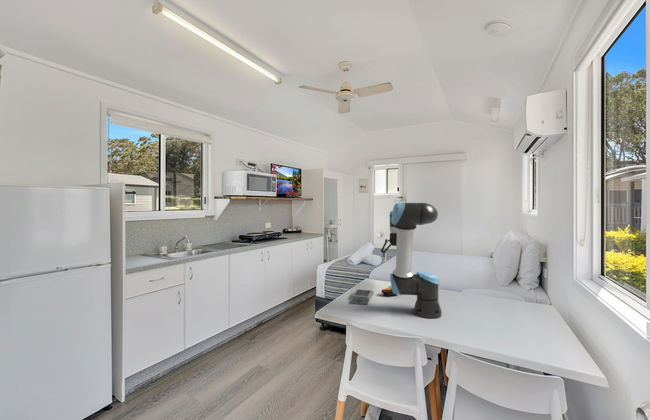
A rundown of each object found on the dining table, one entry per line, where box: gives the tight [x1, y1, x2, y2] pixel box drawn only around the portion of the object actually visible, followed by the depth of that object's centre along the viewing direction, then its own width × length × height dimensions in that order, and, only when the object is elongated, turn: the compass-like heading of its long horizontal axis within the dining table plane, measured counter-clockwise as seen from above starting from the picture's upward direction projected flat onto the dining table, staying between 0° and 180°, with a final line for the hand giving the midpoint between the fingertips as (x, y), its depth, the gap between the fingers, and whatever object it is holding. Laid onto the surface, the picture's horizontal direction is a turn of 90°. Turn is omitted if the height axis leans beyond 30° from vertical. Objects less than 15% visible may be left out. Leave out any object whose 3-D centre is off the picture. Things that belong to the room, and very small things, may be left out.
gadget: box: [380, 285, 398, 297], centre depth 195 cm, size 6×13×6 cm, turn 107°
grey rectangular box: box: [349, 288, 374, 306], centre depth 190 cm, size 28×11×3 cm, turn 162°
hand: (395, 262), depth 202 cm, fingers open, 13 cm apart
